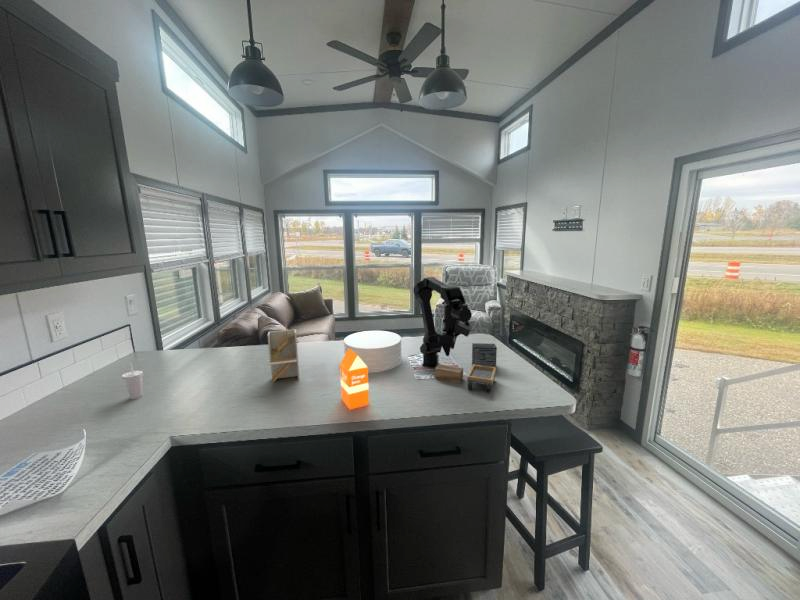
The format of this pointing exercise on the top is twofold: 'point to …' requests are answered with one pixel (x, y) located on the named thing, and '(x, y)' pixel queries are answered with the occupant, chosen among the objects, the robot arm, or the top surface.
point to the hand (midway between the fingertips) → (450, 352)
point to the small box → (484, 354)
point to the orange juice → (354, 380)
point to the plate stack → (375, 349)
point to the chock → (449, 373)
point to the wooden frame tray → (481, 376)
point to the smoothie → (133, 383)
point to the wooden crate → (283, 354)
